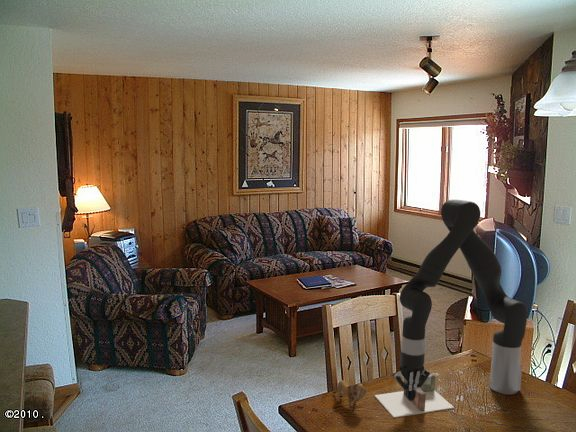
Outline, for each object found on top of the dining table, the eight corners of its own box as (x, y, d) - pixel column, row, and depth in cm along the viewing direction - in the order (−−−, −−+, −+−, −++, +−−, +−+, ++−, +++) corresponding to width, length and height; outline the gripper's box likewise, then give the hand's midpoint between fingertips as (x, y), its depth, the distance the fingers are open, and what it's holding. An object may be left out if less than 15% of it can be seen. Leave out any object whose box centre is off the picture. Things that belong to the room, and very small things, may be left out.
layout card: (430, 388, 177) (431, 386, 177) (454, 408, 164) (454, 406, 164) (374, 396, 171) (374, 394, 171) (393, 417, 158) (393, 416, 158)
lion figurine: (369, 409, 163) (369, 384, 161) (357, 415, 159) (358, 389, 158) (337, 392, 174) (338, 367, 173) (326, 396, 171) (327, 372, 169)
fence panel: (405, 394, 171) (406, 379, 170) (410, 394, 171) (411, 379, 170) (419, 410, 161) (420, 394, 160) (424, 409, 161) (425, 393, 161)
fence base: (431, 388, 176) (432, 371, 175) (434, 391, 174) (435, 374, 173) (402, 392, 173) (403, 375, 172) (405, 395, 171) (405, 378, 170)
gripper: (424, 342, 165) (421, 391, 167) (388, 347, 161) (386, 397, 163) (437, 351, 158) (434, 402, 160) (400, 356, 154) (398, 408, 156)
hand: (410, 399), depth 162 cm, fingers closed
